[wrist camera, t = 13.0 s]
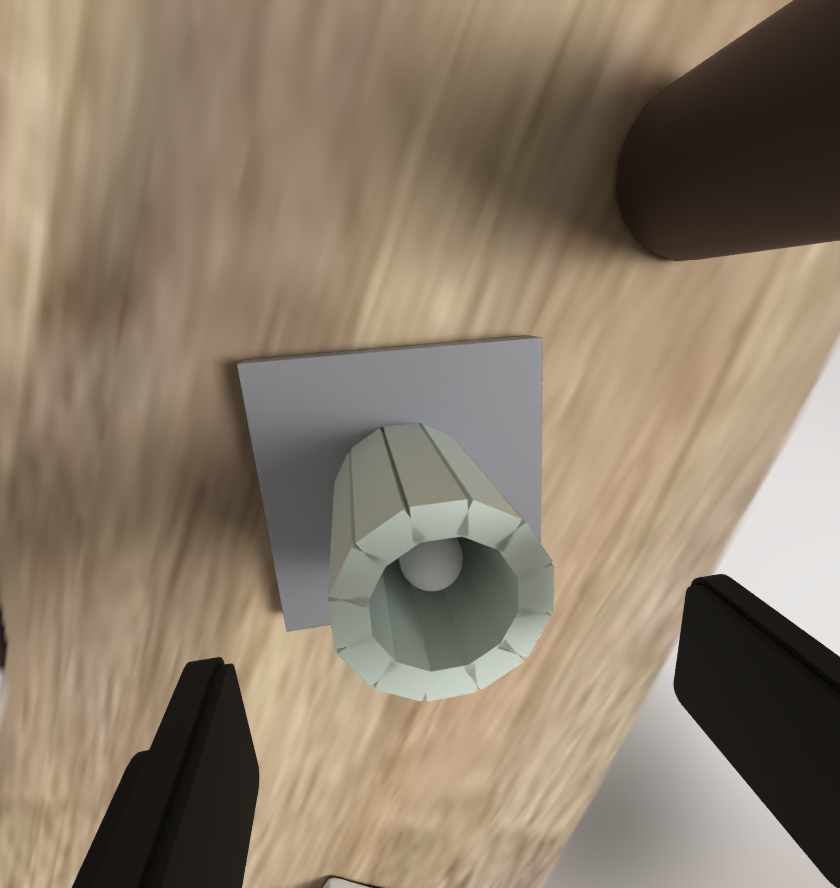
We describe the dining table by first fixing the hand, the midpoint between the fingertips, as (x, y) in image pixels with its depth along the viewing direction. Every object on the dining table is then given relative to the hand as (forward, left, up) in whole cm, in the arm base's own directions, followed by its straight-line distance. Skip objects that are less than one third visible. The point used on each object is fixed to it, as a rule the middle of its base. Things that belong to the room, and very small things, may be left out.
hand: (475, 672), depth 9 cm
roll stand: (+1, 0, -12) cm, 12 cm away
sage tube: (+1, 0, -11) cm, 11 cm away
